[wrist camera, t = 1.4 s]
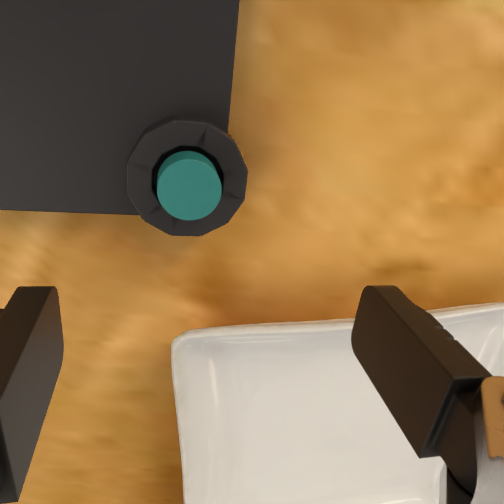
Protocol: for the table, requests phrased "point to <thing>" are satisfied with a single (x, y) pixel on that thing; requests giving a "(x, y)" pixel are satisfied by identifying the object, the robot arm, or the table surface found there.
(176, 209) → the button
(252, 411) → the square plate
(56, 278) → the table surface
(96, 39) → the scale
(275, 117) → the table surface
